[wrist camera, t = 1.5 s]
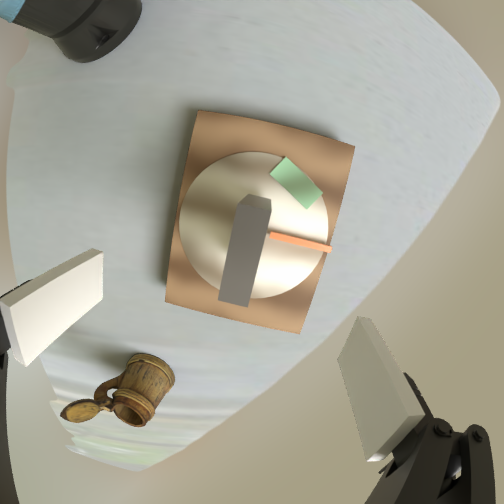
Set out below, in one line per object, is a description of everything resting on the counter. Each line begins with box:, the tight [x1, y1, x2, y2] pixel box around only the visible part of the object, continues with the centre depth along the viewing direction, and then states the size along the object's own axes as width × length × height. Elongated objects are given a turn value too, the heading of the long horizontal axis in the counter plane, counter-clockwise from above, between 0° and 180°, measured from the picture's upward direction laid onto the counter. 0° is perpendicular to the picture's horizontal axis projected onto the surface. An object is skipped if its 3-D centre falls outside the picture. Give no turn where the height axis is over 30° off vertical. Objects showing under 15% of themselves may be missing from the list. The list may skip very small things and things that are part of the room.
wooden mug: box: [60, 354, 175, 427], centre depth 34 cm, size 9×14×18 cm, turn 69°
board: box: [165, 110, 355, 334], centre depth 32 cm, size 24×18×4 cm
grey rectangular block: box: [218, 194, 332, 308], centre depth 25 cm, size 8×10×11 cm
